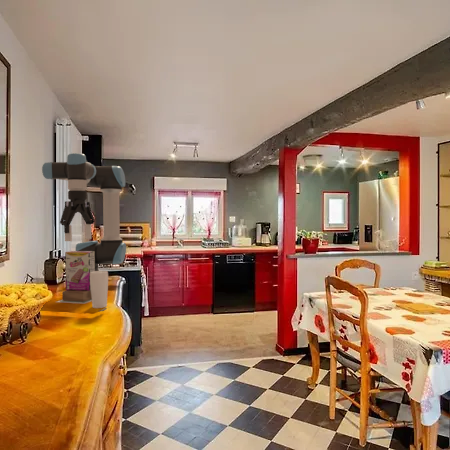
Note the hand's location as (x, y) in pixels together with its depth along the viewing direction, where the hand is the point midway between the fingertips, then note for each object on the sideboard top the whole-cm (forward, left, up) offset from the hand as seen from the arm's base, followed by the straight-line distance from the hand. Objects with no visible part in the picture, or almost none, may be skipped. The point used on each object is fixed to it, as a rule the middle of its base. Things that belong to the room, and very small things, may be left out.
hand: (78, 240), depth 165 cm
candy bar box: (+1, +1, -21) cm, 21 cm away
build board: (+1, +1, -27) cm, 27 cm away
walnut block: (+1, +1, -25) cm, 25 cm away
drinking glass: (+11, +17, -27) cm, 34 cm away
